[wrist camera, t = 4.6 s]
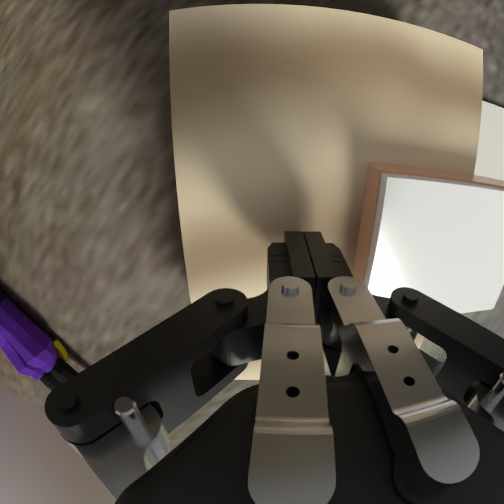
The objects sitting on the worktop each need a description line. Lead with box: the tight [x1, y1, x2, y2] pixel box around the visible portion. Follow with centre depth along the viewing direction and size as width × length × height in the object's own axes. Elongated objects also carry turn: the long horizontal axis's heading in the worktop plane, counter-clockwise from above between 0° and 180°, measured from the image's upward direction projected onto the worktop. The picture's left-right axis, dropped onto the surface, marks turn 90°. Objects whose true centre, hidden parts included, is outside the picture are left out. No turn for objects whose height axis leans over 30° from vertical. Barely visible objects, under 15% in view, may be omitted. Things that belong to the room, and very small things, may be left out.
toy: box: [0, 290, 78, 390], centre depth 24 cm, size 27×6×30 cm
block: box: [169, 4, 483, 380], centre depth 17 cm, size 20×14×7 cm
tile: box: [352, 162, 504, 313], centre depth 13 cm, size 7×9×2 cm
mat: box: [474, 101, 504, 180], centre depth 19 cm, size 16×12×1 cm
